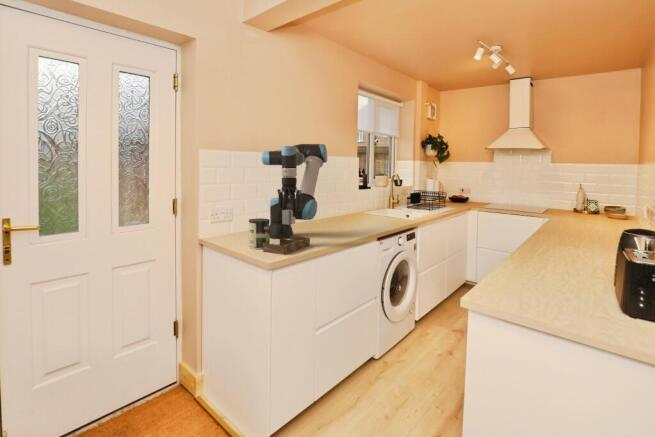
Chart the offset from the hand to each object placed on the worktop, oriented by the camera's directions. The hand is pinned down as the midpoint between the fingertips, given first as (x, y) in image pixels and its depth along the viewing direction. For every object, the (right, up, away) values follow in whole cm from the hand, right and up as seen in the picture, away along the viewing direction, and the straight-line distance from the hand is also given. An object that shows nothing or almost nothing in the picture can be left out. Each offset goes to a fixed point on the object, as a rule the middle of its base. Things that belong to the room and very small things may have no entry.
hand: (289, 222), depth 188 cm
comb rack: (-1, -13, -6) cm, 14 cm away
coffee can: (-15, -13, -3) cm, 20 cm away
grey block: (0, 0, 0) cm, 1 cm away
